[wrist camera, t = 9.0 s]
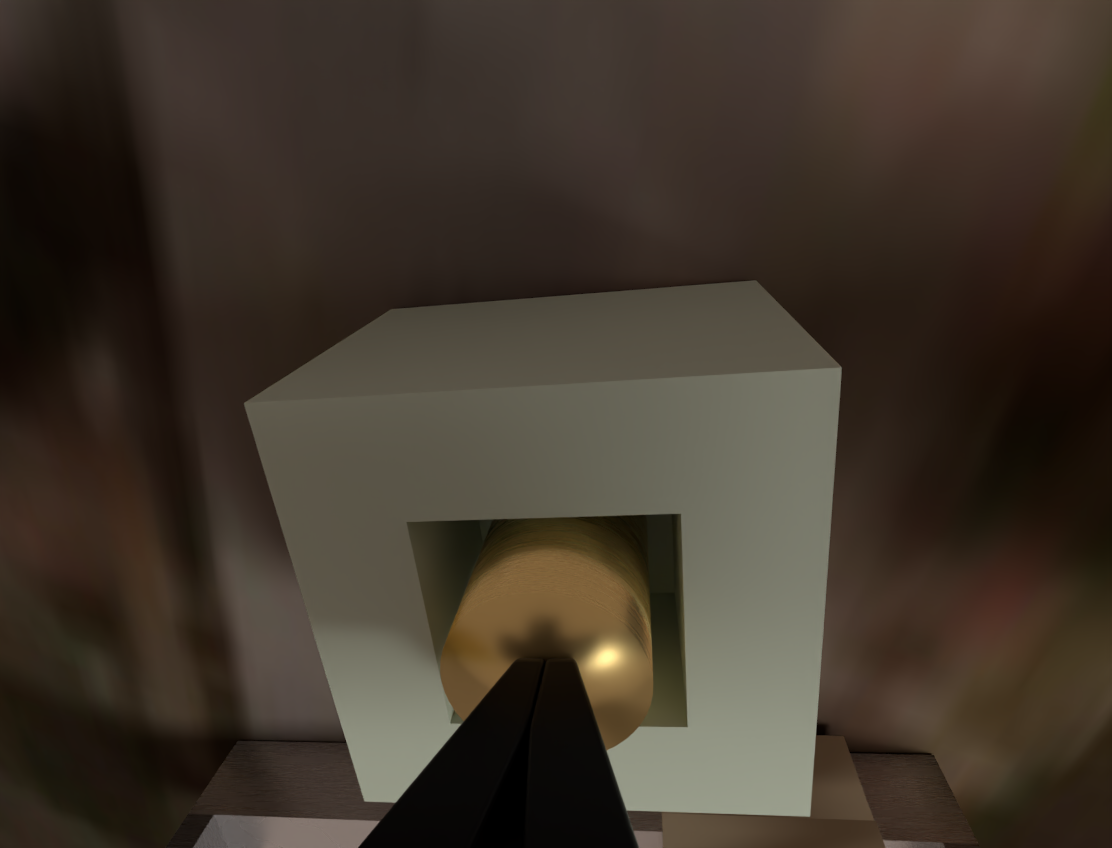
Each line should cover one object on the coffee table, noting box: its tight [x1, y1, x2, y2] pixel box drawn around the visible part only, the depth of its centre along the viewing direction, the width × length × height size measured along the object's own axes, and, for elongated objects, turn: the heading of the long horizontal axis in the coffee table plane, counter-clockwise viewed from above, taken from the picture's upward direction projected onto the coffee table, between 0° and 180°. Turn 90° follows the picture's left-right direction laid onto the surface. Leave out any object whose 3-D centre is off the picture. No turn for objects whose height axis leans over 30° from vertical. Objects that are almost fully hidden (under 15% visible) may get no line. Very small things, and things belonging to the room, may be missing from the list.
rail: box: [166, 741, 980, 848], centre depth 18 cm, size 21×3×4 cm, turn 96°
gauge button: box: [440, 515, 653, 750], centre depth 11 cm, size 3×3×4 cm
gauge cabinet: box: [244, 280, 842, 817], centre depth 13 cm, size 8×8×6 cm
